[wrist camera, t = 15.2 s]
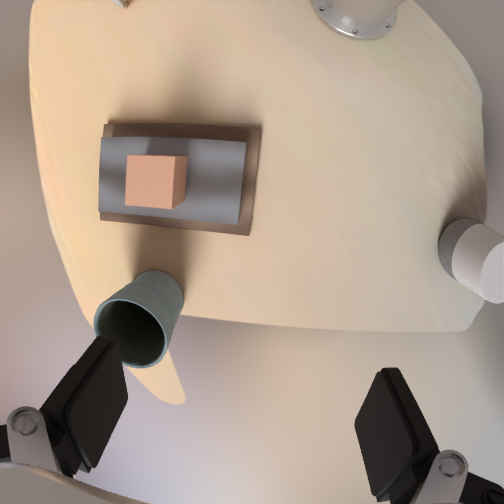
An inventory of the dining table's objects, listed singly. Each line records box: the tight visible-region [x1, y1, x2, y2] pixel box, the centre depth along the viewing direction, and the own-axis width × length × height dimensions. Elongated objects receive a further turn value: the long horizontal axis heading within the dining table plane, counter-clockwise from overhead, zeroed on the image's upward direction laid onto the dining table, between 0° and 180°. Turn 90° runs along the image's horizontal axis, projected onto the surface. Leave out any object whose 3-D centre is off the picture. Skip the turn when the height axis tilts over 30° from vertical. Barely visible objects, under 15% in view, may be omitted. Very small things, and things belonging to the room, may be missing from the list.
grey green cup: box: [93, 270, 184, 368], centre depth 39 cm, size 10×10×12 cm
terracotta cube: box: [125, 154, 188, 209], centre depth 33 cm, size 6×6×6 cm
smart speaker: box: [438, 219, 504, 303], centre depth 34 cm, size 10×9×14 cm
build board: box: [99, 123, 261, 236], centre depth 37 cm, size 14×22×4 cm, turn 84°
